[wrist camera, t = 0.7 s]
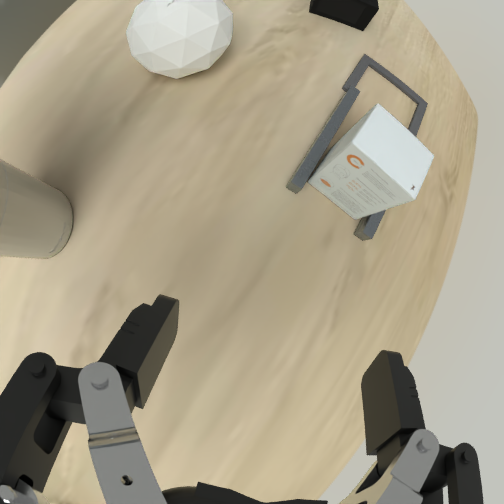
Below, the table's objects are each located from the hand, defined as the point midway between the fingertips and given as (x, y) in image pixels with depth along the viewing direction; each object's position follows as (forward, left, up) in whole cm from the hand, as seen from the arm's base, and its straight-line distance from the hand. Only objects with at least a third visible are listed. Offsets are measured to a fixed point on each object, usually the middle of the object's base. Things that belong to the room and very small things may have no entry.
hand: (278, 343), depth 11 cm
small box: (+5, +19, -24) cm, 31 cm away
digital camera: (-10, +50, -24) cm, 56 cm away
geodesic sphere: (-23, +23, -24) cm, 40 cm away
